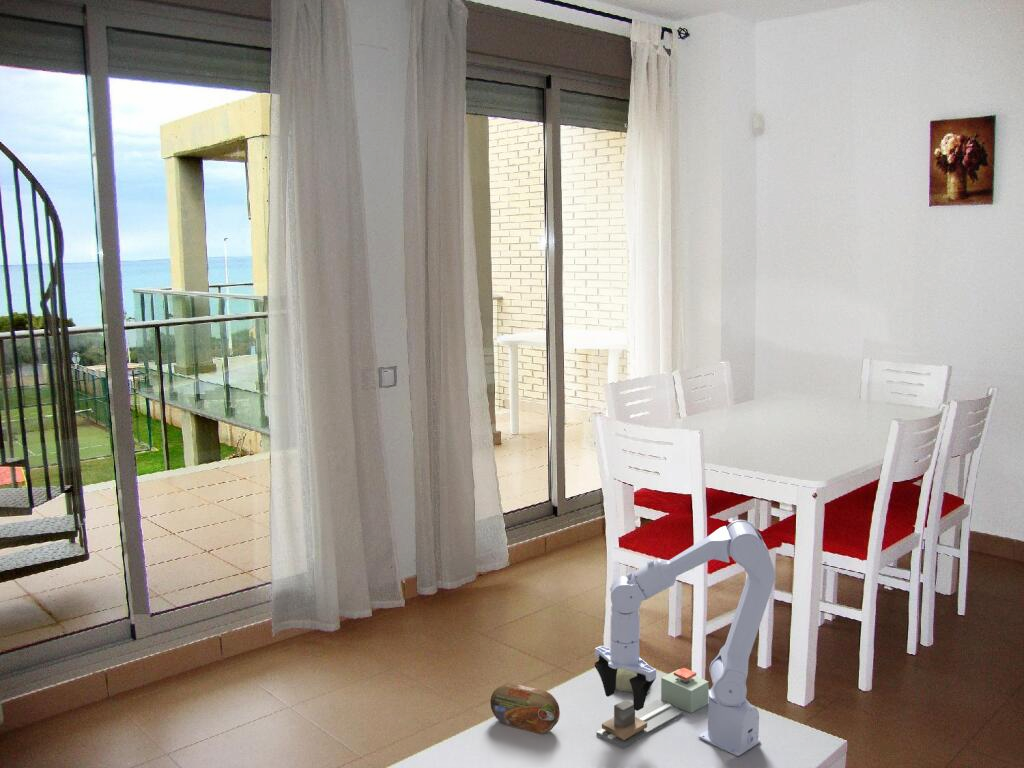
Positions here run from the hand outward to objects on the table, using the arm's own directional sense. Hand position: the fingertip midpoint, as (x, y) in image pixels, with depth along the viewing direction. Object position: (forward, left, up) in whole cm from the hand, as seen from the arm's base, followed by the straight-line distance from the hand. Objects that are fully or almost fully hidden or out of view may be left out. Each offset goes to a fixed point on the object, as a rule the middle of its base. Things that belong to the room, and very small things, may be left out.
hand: (624, 701), depth 183 cm
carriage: (0, 0, -6) cm, 6 cm away
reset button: (0, -20, -3) cm, 20 cm away
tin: (+16, +12, -7) cm, 21 cm away
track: (0, -5, -7) cm, 9 cm away
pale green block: (0, -20, -7) cm, 21 cm away
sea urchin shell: (+13, -17, -7) cm, 22 cm away
